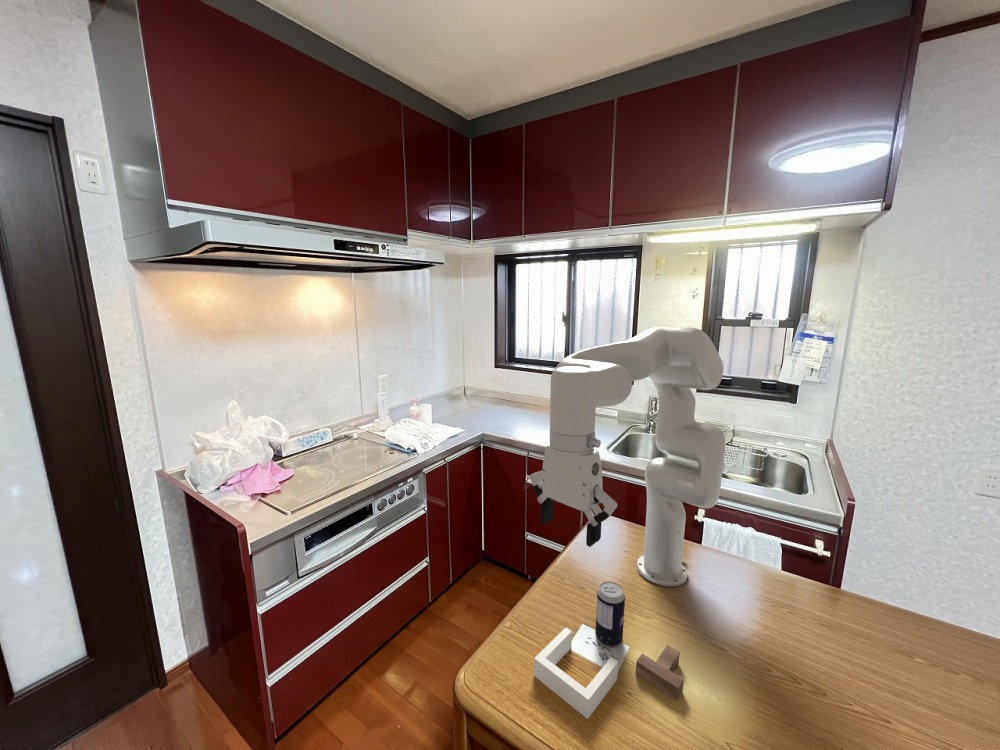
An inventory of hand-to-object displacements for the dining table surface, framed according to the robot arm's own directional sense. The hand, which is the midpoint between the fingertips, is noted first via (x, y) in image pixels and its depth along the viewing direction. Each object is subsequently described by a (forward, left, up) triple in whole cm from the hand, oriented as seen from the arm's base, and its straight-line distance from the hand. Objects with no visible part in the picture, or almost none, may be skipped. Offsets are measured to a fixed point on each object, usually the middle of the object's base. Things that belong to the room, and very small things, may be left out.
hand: (568, 531), depth 72 cm
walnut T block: (-15, +13, -31) cm, 37 cm away
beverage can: (-15, +1, -31) cm, 35 cm away
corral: (-2, +1, -31) cm, 31 cm away
